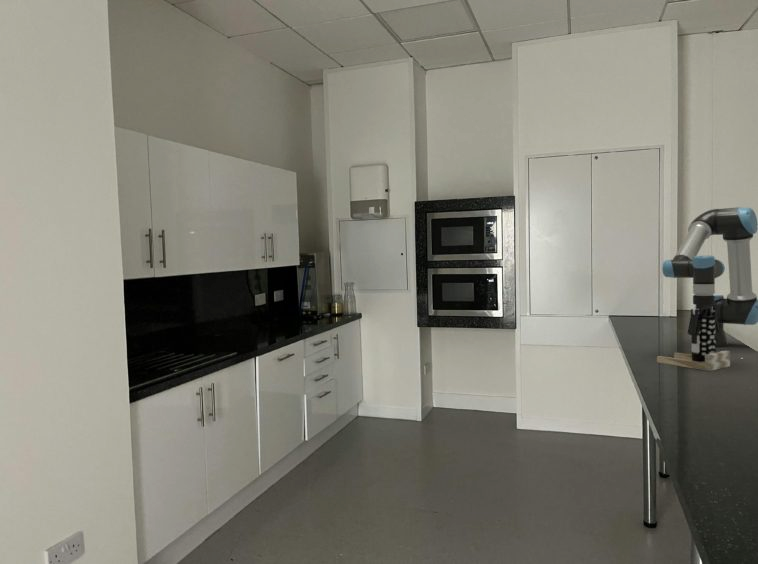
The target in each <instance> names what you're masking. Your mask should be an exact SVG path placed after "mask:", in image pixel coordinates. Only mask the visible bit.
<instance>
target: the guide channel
mask: <svg viewBox="0 0 758 564" xmlns="http://www.w3.org/2000/svg"><path fill="white" fill-rule="evenodd" d="M657 362H658V363H659V364H664V365H671V366H677V367H684V368H689V369H696V370H700V371H701V370H702V371H707V372H712V371H716V370H721V369H724V368H729V367H730V366H731V351H730V350H721V351H716V353H711V354H706V355H705V363H704V362H697V361H692V353H683V352H674V353H673V357H669V356H664V355H658V356H656V363H657Z"/></svg>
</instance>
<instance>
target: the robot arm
mask: <svg viewBox="0 0 758 564" xmlns="http://www.w3.org/2000/svg"><path fill="white" fill-rule="evenodd" d="M755 212H756V211H754V209H753V208H751V207H741V206H739V207H729V208H726V207H725V208H713V209H710V210H706V211H704V212H703V213H701V214H699V215H698V216H697V217H695V218H694V219H693V220H692V221H691V223H690V224H689V226H688V229H687V230H688V231H687V234H686V236H685V238H684V239H683V241H682V243H681V245H680V246H679V248H678V250H677V251H676V253H675V255H674V257H673V258H672V259H665V260H664V261H663V263H662V275H663V276H664V277H666V278H673V279H677V278H679V279H680V278H681V279H683V278H684V279H686V278H687V279H692V283H693V285H692V293H693V296H692V304H693V305H694V308H691V309H690V317H689V324H688V328H687V334H688V335H689V336H691V341H690V342H691V353H692V352H699V336H698V333H699V330H700V327H701V320H698V316H699V317H705V316H716V348H719V347H727V346H728V345H729V344H728V343H729V341H728V338H727V334H726V332H725V329H724V324H726V325H727V324H730V325H744V326H747V325H748V326H749V325H751V326H754V325H756V324H758V297H757V294H756V293H755V292H754V291H753V283H752V281H753V279H752V265H751V264H752V263H751V247H750V246H751V245H750V244H751V243H750V240H752V239H753V238H754V234H756V233H757V232H758V218H757V214H756V213H755ZM715 235H717V236H719V235H720V236H721V235H722V240H723V241H725V242H726V247H727V262H728V263H727V264H728V274H729V275H728V277H729V289H730V290H729V291H730V292H729V293H728V294H727V295H726V298H725V297H724V295H721V294H720V295H719V294H717V295H715V294H716V290H715V289H716V288H715V287H716V286H715V285H716V284H715V282H716V279H717V278H719V277H721V276H722V275H723V274H724V272H725V269H726V267H725V264H724V262H722V261H721V260H719V259H716V258H715V256H714V255H709V254H707V255H698V254H699V252H700V250H701V249H702V247H703V245H704V243H705V241H706V240H707V239H709V238H710V237H711V236H715Z"/></svg>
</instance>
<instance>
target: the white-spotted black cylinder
mask: <svg viewBox="0 0 758 564" xmlns="http://www.w3.org/2000/svg"><path fill="white" fill-rule="evenodd" d="M698 320H701V327H700V330H699V333H698V336H699V352H692V351H691V355H692V361H697V362H704V363H705V355H706V354H711V353H716V352H717V351H716V350H717V347H716V316H705V317H699V316H698Z"/></svg>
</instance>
